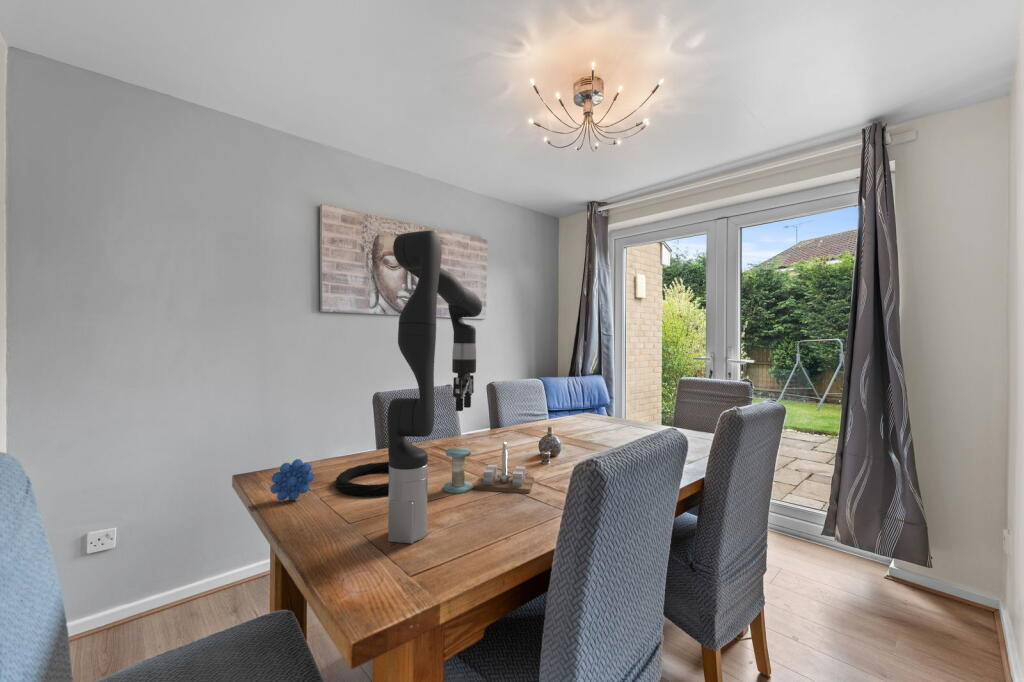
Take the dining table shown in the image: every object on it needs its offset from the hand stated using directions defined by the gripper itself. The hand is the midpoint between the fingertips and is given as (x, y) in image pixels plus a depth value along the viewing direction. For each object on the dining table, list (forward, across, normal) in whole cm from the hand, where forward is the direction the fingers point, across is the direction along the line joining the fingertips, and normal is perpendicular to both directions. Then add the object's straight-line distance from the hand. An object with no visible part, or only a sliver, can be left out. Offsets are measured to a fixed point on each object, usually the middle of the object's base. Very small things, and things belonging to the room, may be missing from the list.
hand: (463, 409), depth 140 cm
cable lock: (+26, +2, +29) cm, 39 cm away
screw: (+24, +7, -12) cm, 28 cm away
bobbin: (+25, +1, +2) cm, 25 cm away
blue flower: (+26, -18, +46) cm, 56 cm away
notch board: (+25, +8, -12) cm, 29 cm away
